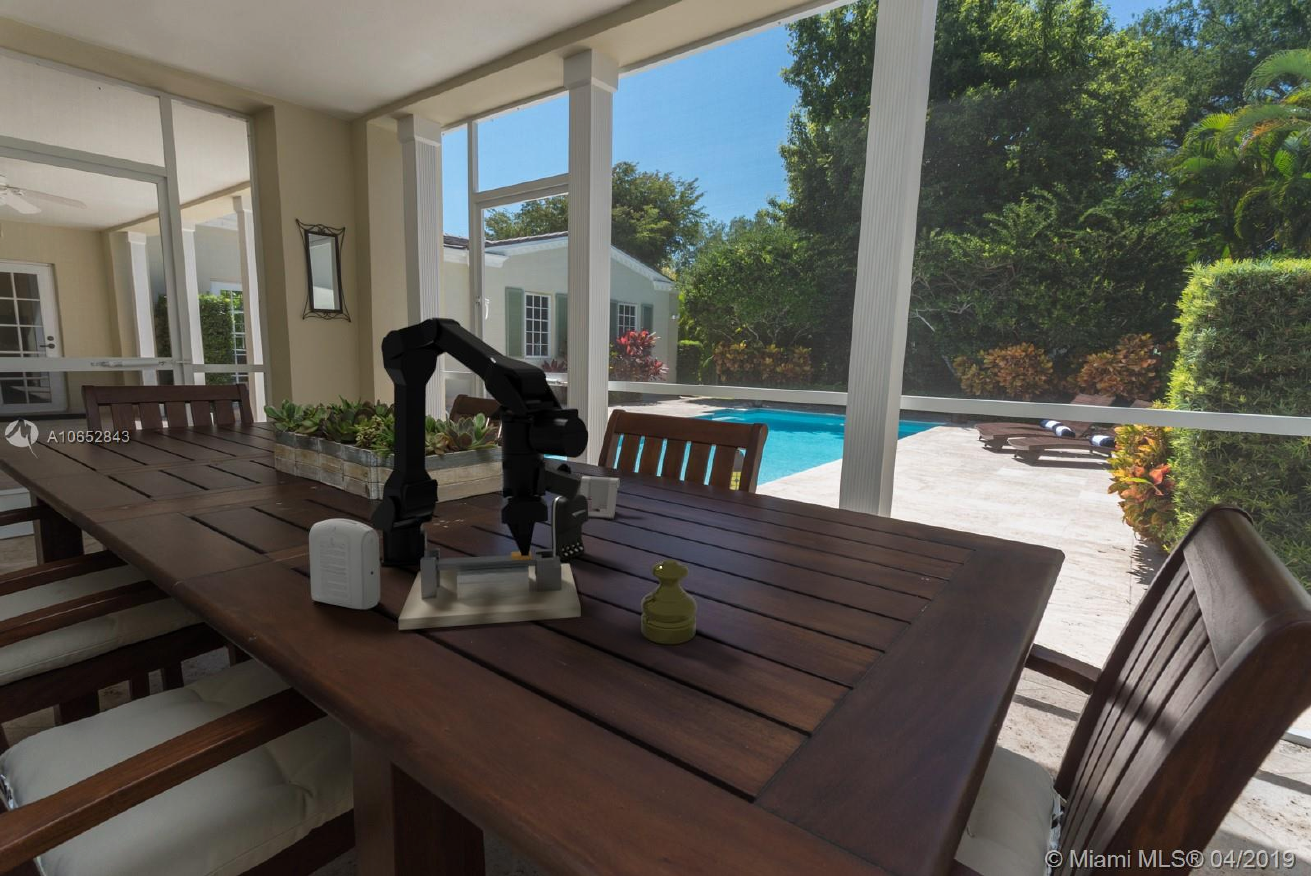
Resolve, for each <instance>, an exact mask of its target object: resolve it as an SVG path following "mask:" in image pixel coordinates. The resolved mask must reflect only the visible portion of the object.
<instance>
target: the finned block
mask: <svg viewBox="0 0 1311 876" xmlns="http://www.w3.org/2000/svg"><path fill="white" fill-rule="evenodd" d="M522 596H529V567H528V566H525V567H504V568H484V569H463V570H459V571H458V575H457V601H460V600H476V599H491V598H507V597H522Z"/></svg>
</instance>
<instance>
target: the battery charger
mask: <svg viewBox="0 0 1311 876" xmlns="http://www.w3.org/2000/svg"><path fill="white" fill-rule="evenodd" d="M588 508H589V501H588V500H587V498H586V497H585V496H584V495H581V494H580V493H577V495H576V498H575V500H569V499H566V497H564V496H560V495H557V496H556V497H554V498H553V500H552V503H551V507H550V510H551V511H550V526H551V527H550V528H551V531H550V533H551V549H553V556H559V558H560V561H568V560H571V559H573V558H577V557H579V556H581V555H583V554H584V553H585V551H586V550H585V546H584V543H583V537H582V533H583V531H582V529H583V525H584V524H585V523H587V522H588V521H589V517H588Z"/></svg>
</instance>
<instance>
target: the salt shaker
mask: <svg viewBox="0 0 1311 876" xmlns="http://www.w3.org/2000/svg"><path fill="white" fill-rule="evenodd" d="M650 570H651V574H652V575H653V576H654V577H655V578H656V579H657V580H658V582H659V585H658V586H657V587H656V588H654V589H653V590H652V591H651V592H649V593H648V594H646V595H645V596H644V597H643V598H642V599H641V603H640V605H641V607H640V608H641V611H642V612H643V613H642V614H641V616H640V619H641V621H640V622H641V623H640V631H641V634H642V636H643V637H644V638H645V639H647V640H650V641H651V642H654V643H656V644H657V643H658V644H661V645H662V644H663V645H678V644H683V643H686V642H689V641H690V640H691V639H693V638H694V637H695V636H696V633H697V632H696V628H697V627H696V624H697V616H695V614H696V613H697V609H698V608H697V607H698V603H697V601H696V600H695V598H693V596H692V595H690V594H689V593H687V591H686V590H684V589H683V587H682V586H681V585H680V584H681V581H683V579H684V578H686V577H688V575H689V573H690V570H689V568H688V566H686V565H685V564H684V563H681V562H679V561H677V560H676V559H670V558H669V559H668V558H667V559H665V560H663V561H659V562H657V563H655V564H654V565H652V567H651V569H650Z"/></svg>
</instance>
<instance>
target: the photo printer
mask: <svg viewBox="0 0 1311 876" xmlns="http://www.w3.org/2000/svg"><path fill="white" fill-rule="evenodd" d="M379 538H380V537H379V534H378V532H377V531H376V529H374V528H372V527H371V526H369V525H367V524H365V523H363V522H360V521H357V520H353V519H349V518H329V519H325V520H322V521H318V522H316V523H314V524H313V525H312V526H311V529H310V531H309V534H308V547H309V548H308V549H309V569H310V571H309V572H310V595H311V599H312V600H313V601H315V602H320V603H324V604H329V605H335V606H340V607H345V608H349V609H353V610H355V609H356V610H369V609H372V608H374V607H375V606H377V605H378V603H379V601H380V600H381V572H380V571H381V569H380V568H381V567H380V566H381V561H380V539H379Z"/></svg>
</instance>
